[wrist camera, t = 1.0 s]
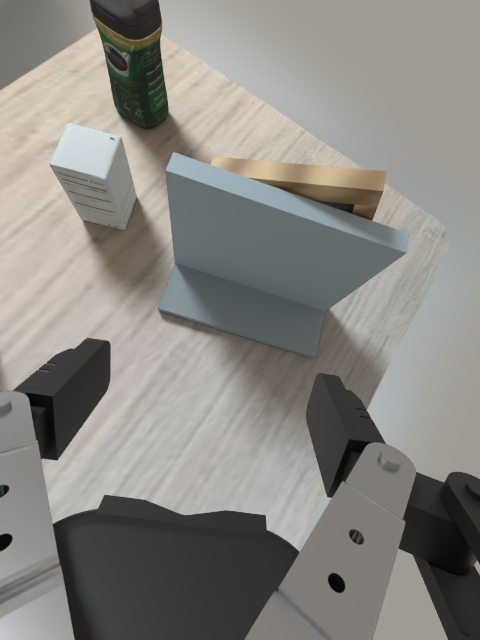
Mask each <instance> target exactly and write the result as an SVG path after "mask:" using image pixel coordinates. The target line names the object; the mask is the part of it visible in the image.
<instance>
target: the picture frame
mask: <svg viewBox="0 0 480 640" xmlns="http://www.w3.org/2000/svg"><path fill="white" fill-rule="evenodd" d="M211 165H212V166H215V167H218V168H221V169H224V170H227V171H230V172H233V173H235V174H238V175H241V176H244V177H247V178H250V179H253V180H256V181H258V182H261V183H264V184H267V185H270V186H273V187H276V188H279V189H281V190H284V191H287V192H290V193H293V194H296V195H299V196H302V197H305V198H307V199H310V200H313V201H316V202H319V203H322V204H325V205H328V206H330V207H333V208H336V209H339V210H342V211H345V212H348V213H351V214H354V215H356V216H359V217H362V218H365V219H368V220H371V221H372V220H373V217H374V214H375V212H376V209H377V206H378V204H379V201H380V199H381V196H382V193H383V190H384V184H385V177H386V171H374V170H362V169H351V168H339V167H327V166H315V165H304V164H292V163H280V162H268V161H256V160H245V159H233V158H221V157H213V160H212V162H211Z"/></svg>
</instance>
